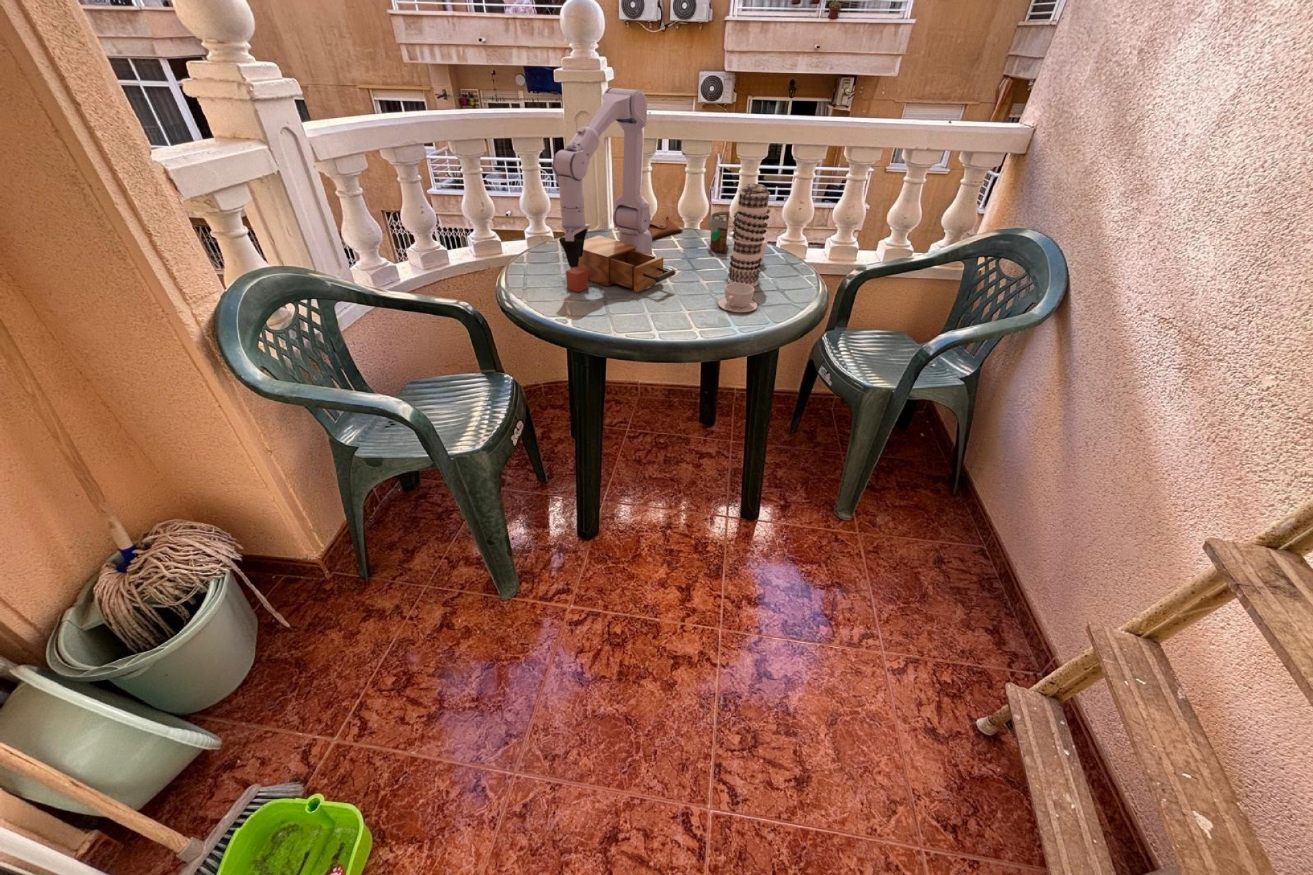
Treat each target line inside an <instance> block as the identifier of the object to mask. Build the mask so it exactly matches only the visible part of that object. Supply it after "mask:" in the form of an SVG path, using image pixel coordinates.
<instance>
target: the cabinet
mask: <svg viewBox="0 0 1313 875" xmlns="http://www.w3.org/2000/svg"><path fill="white" fill-rule="evenodd" d="M636 248H637V246H635V245H631V244H628V243H624V242H621V241H620V240H616V239H614V238H609V237H607V236H606V237H605V236H603V235H595V236H592V237H590V238H585V240H584V247H583V254H582V257H579V263H578V268H581V269H584V270H587V274H588V281H590V282H591V281H592V282H595V283H598V284H600V285H603V286H606V287H609V286H611V285H614V284H615V283H613V282H610V281H609V259H608V258H611V257H614V256H617V255H619V254H622V253H625V252H627V251H630V250H635V251H636ZM573 268H575V267H570V266H569V270H570V269H573Z"/></svg>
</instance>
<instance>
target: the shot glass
mask: <svg viewBox="0 0 1313 875" xmlns="http://www.w3.org/2000/svg"><path fill="white" fill-rule="evenodd" d="M768 242H769V241H768V240H767V239H766V238H765V239H764V242H763V243H762V248H761V251H762V252H761V258H762V260H761V262H760V264H761V266H763V263H764V259H765V255H766V250H767V246H768Z"/></svg>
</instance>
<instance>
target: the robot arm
mask: <svg viewBox="0 0 1313 875" xmlns="http://www.w3.org/2000/svg"><path fill="white" fill-rule="evenodd" d="M647 120H648V99H647V97H646V94H645V93H644V92H643V91H642V90H641V89H628V88H616V87H613V86H609V87H607V88H606V89H605V90H604V93H603V94H602V95H601V98H600V107H599V108H598V109H597V111H596V113H595V115H594V116H593V118H592V120H591V121H590V123H588V126H581V127H579V128H578V129H577V130H576V133H575V134H574V136H573V137H572V139H570V141H569V142H568V143H567V145H566V147H565V148H564V149H560V150H558V151H557V152H556V153H555V154H554V156H553V159H552V164H551V169H552V172H553V174H554V175H555V179H556V180H555V181H556V183H557V185H558V190H559V191H558V192H559V202H560V203H559V205H560V217H561V225H560V228H561V230H562V231H563V233H564V236H560V237H559V240H558V241H559V243H560V245H561V247H562V248H563V251H564V253H565V256H566V260H567V263H568V266H569V268H570V267H578V263H579V257H582V254H583V247H584V240H586V235H587V232H588V230H589V229H590V228H591V224H590V223H586V218H585V216H586V214H585V199H584V198H585V197H584V178H585V177H586V176H587V173H588V170H589V169H588V168H589V164H590V160H591V159H592V157H593V156H594V155H595V153H596V152H597V150H598V149H599V147H600V145H601V141H600V138H601V137H602V136H603V134H604V133H605V132H606V131H607V130H608V129H609V128H610V127H611V126H612V124H613V123H614V122H616V123H617V124H618V125H619V126H620V127H621V129H622V130H623V156H622V158H623V162H622V193H621V195H620V196H619V197H618V198H617V199H616V200H615V201H614V210H613V212H612V221H613V224H614V226H615V227H616V228H617V229H616V231H618V234H619V241H621V242H624V243H628V244H631V245H635V246H637V248H636V251H638V252H642V253H645V254H649V255H652V256H653V240H652V236H651V233H650V232H649V230H647V229H648V228H649V225H650V221H652V220H651V219H652V218H651V213H650V203H649V202H648V201H647V200H646V199H645V198H644V197H643V196H642V185H643V184H642V182H643V163H644V162H643V161H644V143H645V142H644V140H645V127H646V126H647Z"/></svg>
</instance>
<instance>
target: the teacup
mask: <svg viewBox="0 0 1313 875" xmlns="http://www.w3.org/2000/svg"><path fill="white" fill-rule="evenodd" d="M754 293H755V287H752V286H751V285H748V284H744V283H728V284H725V285H724V296H725V297H722V298H720V299H719V300H718V302H717V304H718V306H719V307H720V308H722V309H723V310H726V311H729V312H733V313H749V312H752V311H754V310H756V309H757V308H758V304H757V302H756V301H755V300H753V297H754Z"/></svg>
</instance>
